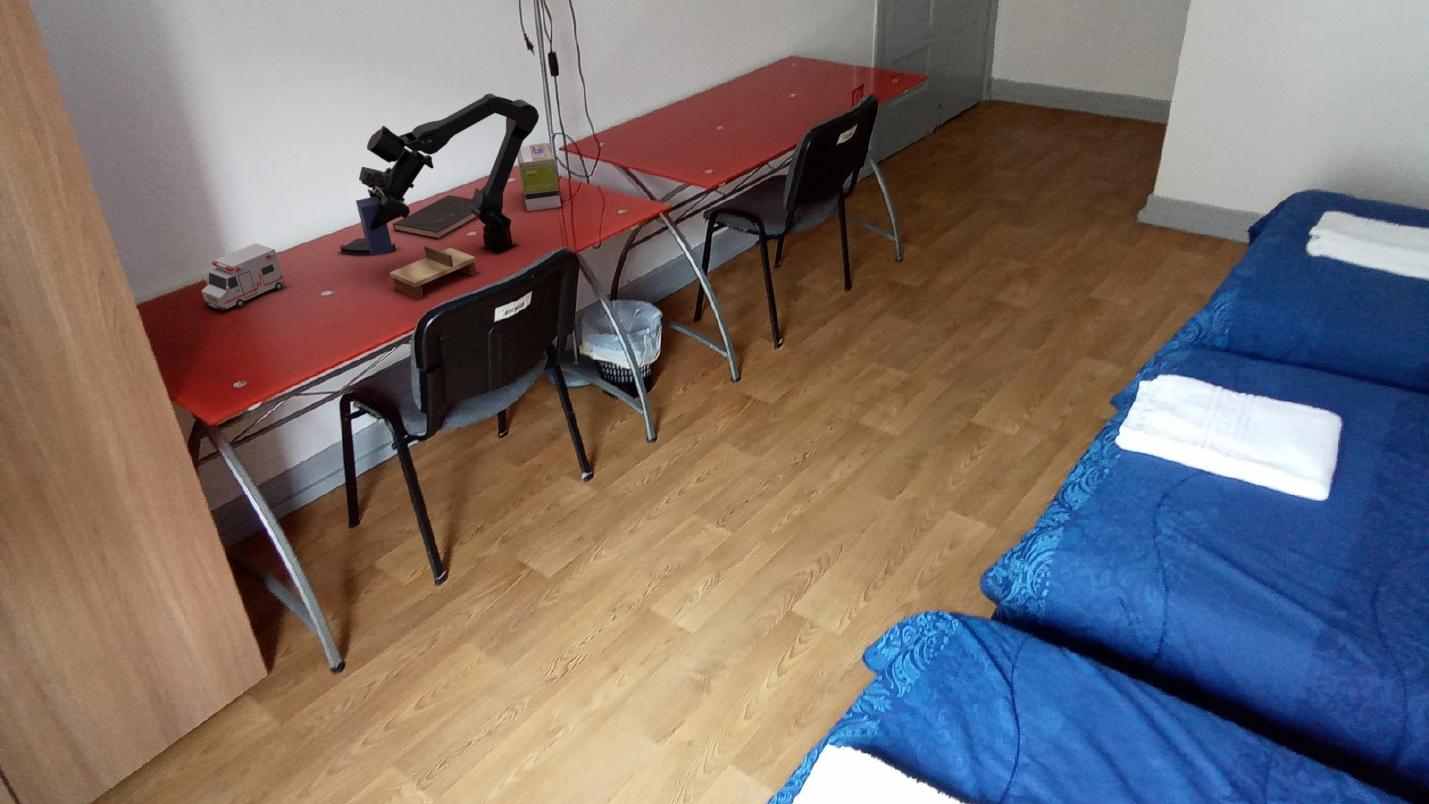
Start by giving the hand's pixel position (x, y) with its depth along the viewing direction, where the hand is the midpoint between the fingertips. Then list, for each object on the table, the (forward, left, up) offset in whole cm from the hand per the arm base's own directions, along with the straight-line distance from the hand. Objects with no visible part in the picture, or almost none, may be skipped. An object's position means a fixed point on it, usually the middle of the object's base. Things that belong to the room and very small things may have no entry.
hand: (368, 225), depth 241 cm
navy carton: (-1, 0, -7) cm, 7 cm away
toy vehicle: (+26, -17, -14) cm, 34 cm away
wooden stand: (-7, +14, -13) cm, 21 cm away
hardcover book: (-33, -17, -14) cm, 39 cm away
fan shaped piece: (-8, -17, -14) cm, 23 cm away
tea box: (-59, -5, -14) cm, 60 cm away
